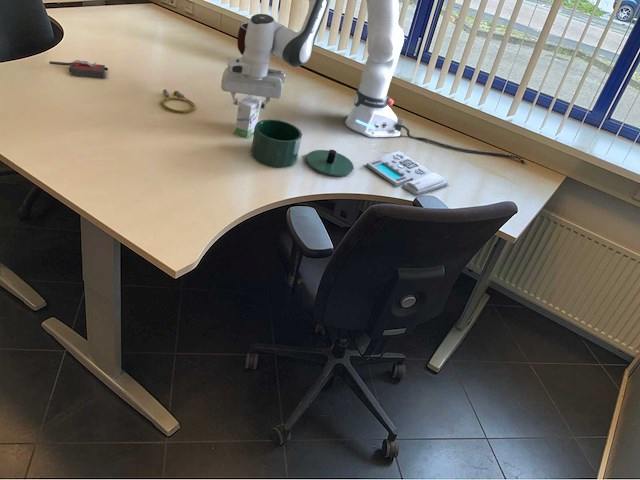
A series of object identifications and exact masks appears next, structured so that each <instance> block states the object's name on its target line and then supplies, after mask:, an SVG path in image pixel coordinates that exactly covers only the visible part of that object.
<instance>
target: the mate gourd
mask: <svg viewBox="0 0 640 480" xmlns="http://www.w3.org/2000/svg"><path fill="white" fill-rule="evenodd" d="M248 23H249V22H242V23H240V26H239V29H238V33H237V43H236V44H237V50H238V52H239V53H240V55H242V56H243V53H244V51H245V37H246V31H247V27H248Z"/></svg>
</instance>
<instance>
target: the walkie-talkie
mask: <svg viewBox="0 0 640 480" xmlns="http://www.w3.org/2000/svg"><path fill="white" fill-rule="evenodd" d="M48 63H49V65H55V66H68V72H69V74H70V73H71V76H73V77H80V78H81V77H82V78H93V79H94V78H95V79H105V78H106V72H107V71H109V68H108V67H106V66H105V64H97V63H96V62H94V63H90V62H89V61H88V60H80V59H79V60H78V59H77V60H73V61H72V62H64V61H63V62H62V61H52V60H50V61H48Z"/></svg>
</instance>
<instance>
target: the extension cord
mask: <svg viewBox="0 0 640 480" xmlns="http://www.w3.org/2000/svg"><path fill="white" fill-rule="evenodd" d="M162 94H163V96H164V97H165V98H164V99H162V101H161V102H160V105H161V107H162V108H163V109H165V110H167V111H169V112H171V113H172V112H173V113H176V114H177V113H178V114H187V113H189V112H192V111H194V110H195V106H196V105H195V103H194V102H193V101H192V100H190V99H188V98H186V97H185V94H183V93H182V92H180V91H179V90H174V91H173V96H175V97H170V92H169V91H168V90H167V89H163V90H162ZM172 100H173V101H180V102H184V103H187V104H189V105H191V108H188V109H182V110H179V109H175V108H171V107H169V106H167V105H166V104H164V103H165V102H167V101H172Z"/></svg>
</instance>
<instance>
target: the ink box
mask: <svg viewBox="0 0 640 480" xmlns="http://www.w3.org/2000/svg"><path fill="white" fill-rule="evenodd" d="M261 102H262V99H260V98H258V97H256V96H254V95H247V96H246V97H244V98H242V99H241V100H240V101H238V105H237V111H236V112H237V113H236V119H235V126H234V127H235V129H234V134H235V135H237V136H240V137H243V138H246V139H247V138H249V137H250V136H251V135H252V134H254V129H255V125H256V124H257V122H259V116H260V110H261Z"/></svg>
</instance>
